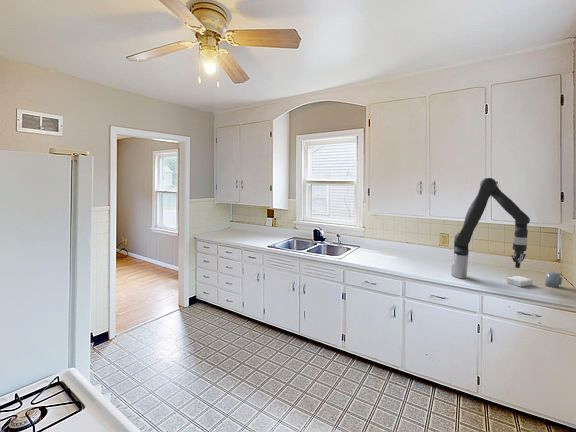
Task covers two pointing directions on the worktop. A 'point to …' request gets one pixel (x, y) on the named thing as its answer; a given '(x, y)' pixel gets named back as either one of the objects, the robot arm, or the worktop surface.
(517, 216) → the robot arm
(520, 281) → the photo printer
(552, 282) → the grey rounded cylinder
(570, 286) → the worktop surface
